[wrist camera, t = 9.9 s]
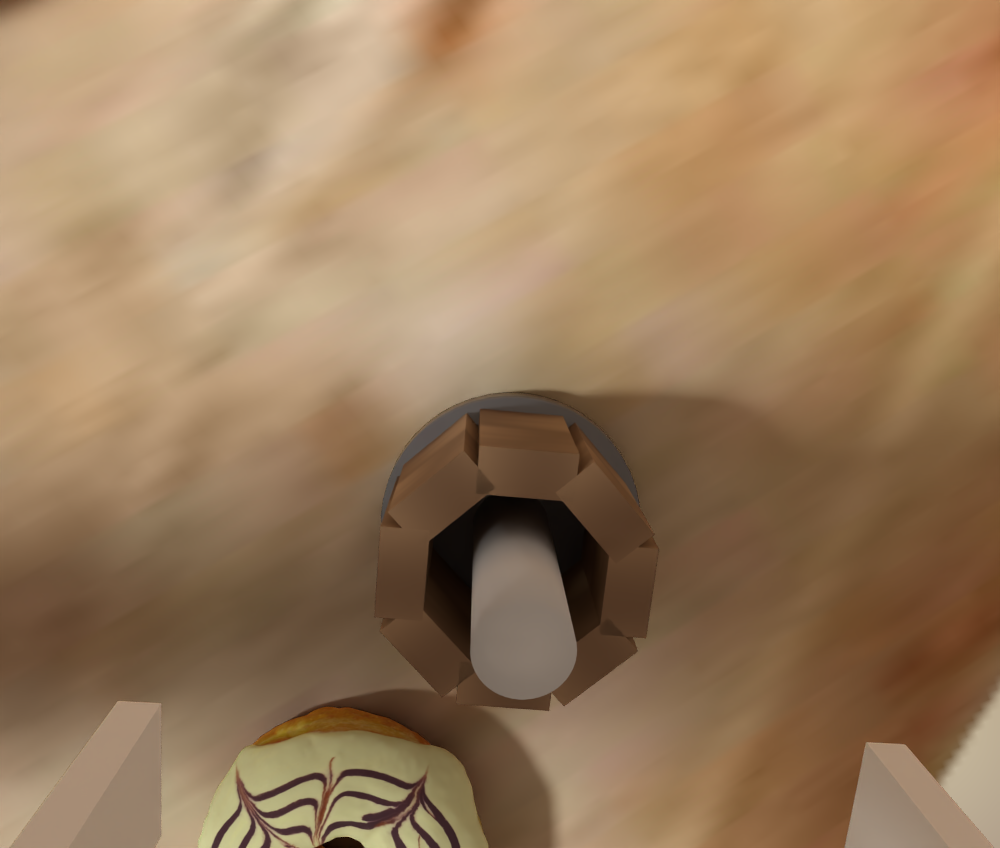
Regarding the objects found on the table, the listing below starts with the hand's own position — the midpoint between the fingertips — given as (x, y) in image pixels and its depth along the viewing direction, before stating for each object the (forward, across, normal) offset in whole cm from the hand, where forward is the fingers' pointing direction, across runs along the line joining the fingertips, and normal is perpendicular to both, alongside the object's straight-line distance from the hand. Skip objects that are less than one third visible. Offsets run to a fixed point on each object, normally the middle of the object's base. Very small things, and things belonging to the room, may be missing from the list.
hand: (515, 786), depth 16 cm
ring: (+14, +1, 0) cm, 14 cm away
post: (+15, +1, 0) cm, 15 cm away
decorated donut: (+16, -4, -13) cm, 21 cm away
